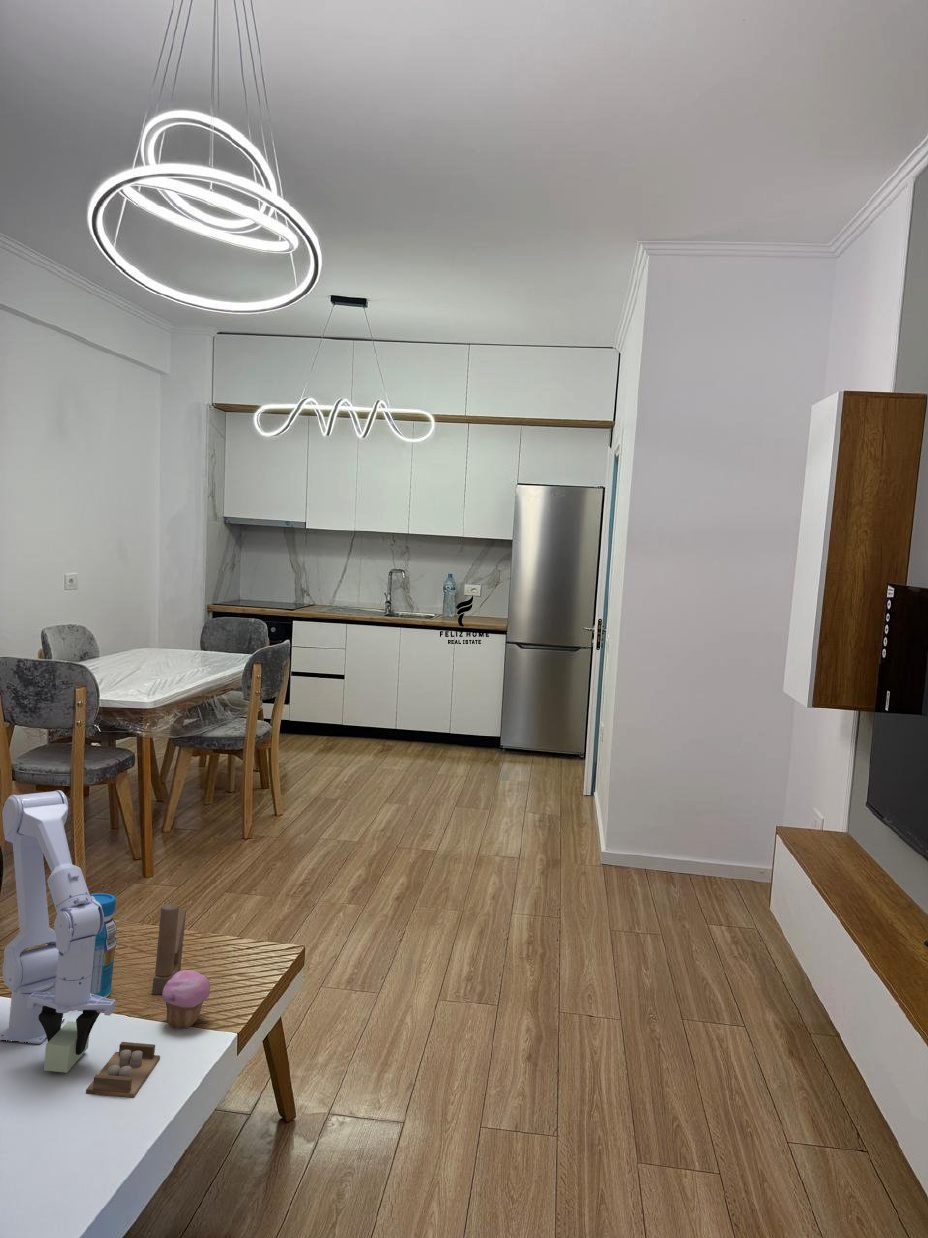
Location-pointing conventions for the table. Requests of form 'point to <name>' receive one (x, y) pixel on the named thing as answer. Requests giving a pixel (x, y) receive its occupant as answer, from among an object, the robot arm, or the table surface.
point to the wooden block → (169, 945)
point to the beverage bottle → (104, 948)
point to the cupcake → (185, 997)
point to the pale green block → (62, 1049)
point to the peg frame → (125, 1070)
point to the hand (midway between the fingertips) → (67, 1050)
